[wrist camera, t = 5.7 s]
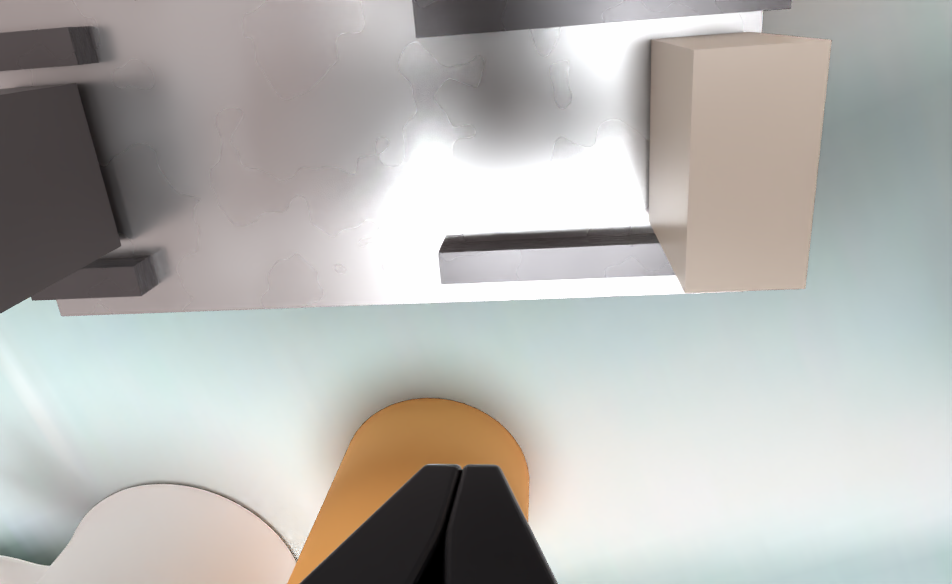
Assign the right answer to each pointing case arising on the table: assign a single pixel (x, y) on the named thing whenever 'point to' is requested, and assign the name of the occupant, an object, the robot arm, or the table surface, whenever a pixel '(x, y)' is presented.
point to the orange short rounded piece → (407, 465)
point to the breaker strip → (363, 146)
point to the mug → (163, 543)
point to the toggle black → (48, 191)
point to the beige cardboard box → (736, 157)
